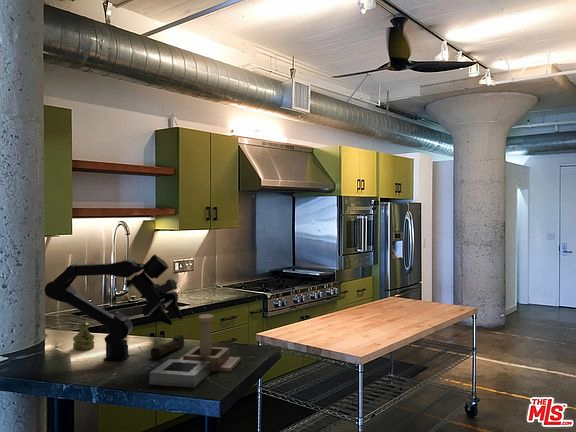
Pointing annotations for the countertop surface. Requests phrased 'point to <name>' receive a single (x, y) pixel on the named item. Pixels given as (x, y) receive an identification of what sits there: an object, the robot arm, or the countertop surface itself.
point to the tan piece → (214, 358)
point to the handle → (206, 334)
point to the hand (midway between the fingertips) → (176, 321)
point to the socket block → (180, 373)
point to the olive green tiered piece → (83, 337)
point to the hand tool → (168, 347)
